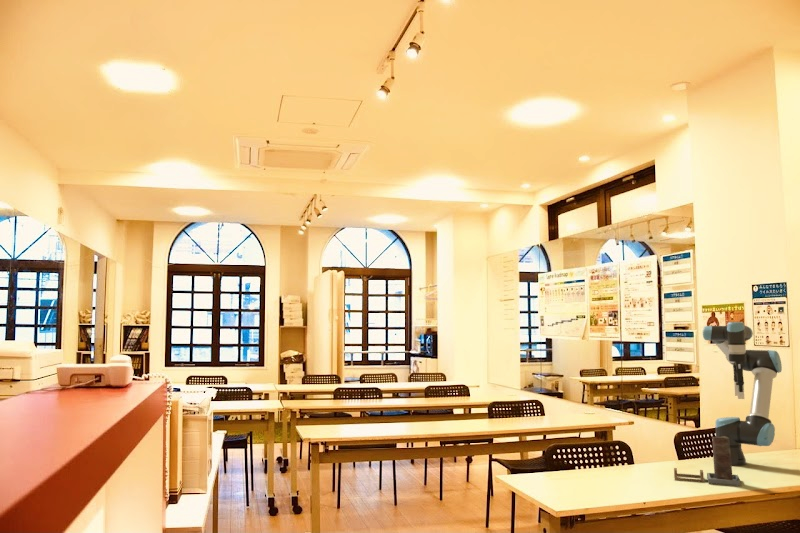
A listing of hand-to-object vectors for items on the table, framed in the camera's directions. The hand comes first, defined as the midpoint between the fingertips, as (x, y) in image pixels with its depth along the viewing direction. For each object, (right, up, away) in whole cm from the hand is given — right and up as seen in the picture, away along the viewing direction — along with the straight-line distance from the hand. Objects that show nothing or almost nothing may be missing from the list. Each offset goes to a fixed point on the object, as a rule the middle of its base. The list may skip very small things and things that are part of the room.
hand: (739, 397), depth 313 cm
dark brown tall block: (-17, -35, -19) cm, 43 cm away
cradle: (-30, -36, -12) cm, 48 cm away
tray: (-17, -35, -19) cm, 43 cm away
